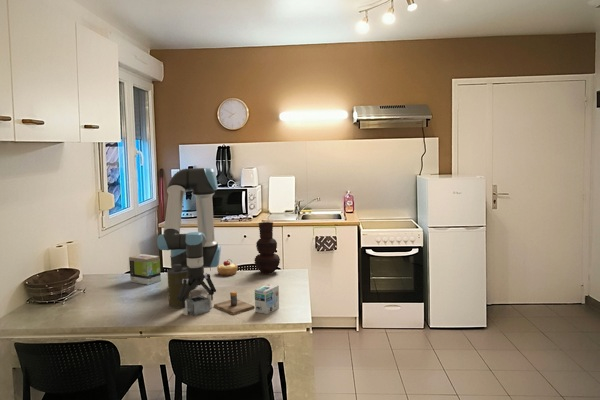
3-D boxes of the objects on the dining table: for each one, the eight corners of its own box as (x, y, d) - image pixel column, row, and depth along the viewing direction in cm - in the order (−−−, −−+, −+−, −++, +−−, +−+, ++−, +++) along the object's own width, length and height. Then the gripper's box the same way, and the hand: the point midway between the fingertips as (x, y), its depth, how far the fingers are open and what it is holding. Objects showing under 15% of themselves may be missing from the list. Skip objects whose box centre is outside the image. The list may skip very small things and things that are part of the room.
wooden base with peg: (214, 306, 241) (213, 292, 240) (234, 300, 249) (234, 286, 248) (233, 314, 229) (232, 299, 228) (254, 308, 237) (253, 293, 236)
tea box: (161, 281, 288) (160, 255, 286) (147, 285, 280) (146, 259, 278) (143, 277, 296) (142, 253, 294) (129, 282, 288) (128, 256, 286)
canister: (171, 309, 238) (169, 268, 235) (166, 303, 247) (164, 263, 245) (194, 305, 243) (192, 265, 240) (188, 299, 252) (186, 260, 250)
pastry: (221, 271, 307) (220, 257, 306) (239, 271, 305) (239, 257, 305) (215, 276, 295) (214, 261, 294) (234, 276, 293) (233, 261, 293)
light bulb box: (266, 314, 228) (265, 291, 227) (254, 312, 232) (253, 289, 230) (279, 307, 237) (279, 285, 236) (268, 305, 241) (267, 283, 239)
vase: (251, 275, 294) (249, 225, 290) (258, 269, 309) (256, 220, 305) (277, 276, 291) (275, 225, 288) (282, 269, 306) (281, 220, 303)
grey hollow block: (185, 311, 235) (185, 299, 234) (200, 307, 240) (200, 295, 239) (194, 315, 229) (193, 302, 228) (209, 311, 234) (209, 298, 234)
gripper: (175, 272, 221) (178, 319, 224) (222, 262, 237) (224, 306, 240) (167, 269, 227) (170, 315, 229) (213, 259, 243) (215, 303, 245)
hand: (197, 311), depth 234 cm, fingers open, 12 cm apart
